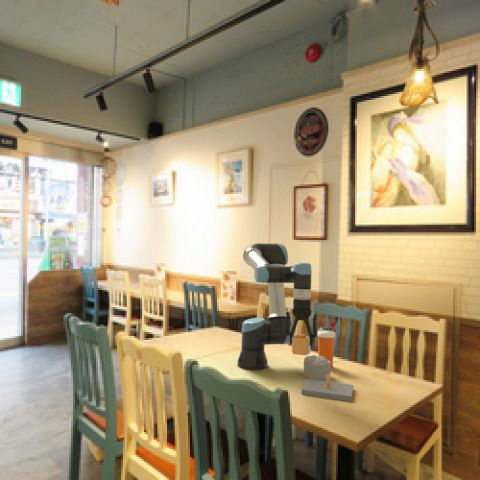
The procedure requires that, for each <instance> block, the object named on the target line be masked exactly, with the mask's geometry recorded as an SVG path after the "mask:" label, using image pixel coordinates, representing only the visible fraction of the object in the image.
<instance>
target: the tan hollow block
mask: <svg viewBox="0 0 480 480" xmlns="http://www.w3.org/2000/svg"><path fill="white" fill-rule="evenodd" d="M308 338H309V335H306V334H303V333H297V334H294V337H293V352H292V355H297V356H299V355H300V356H308V354H307V351H308Z"/></svg>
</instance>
